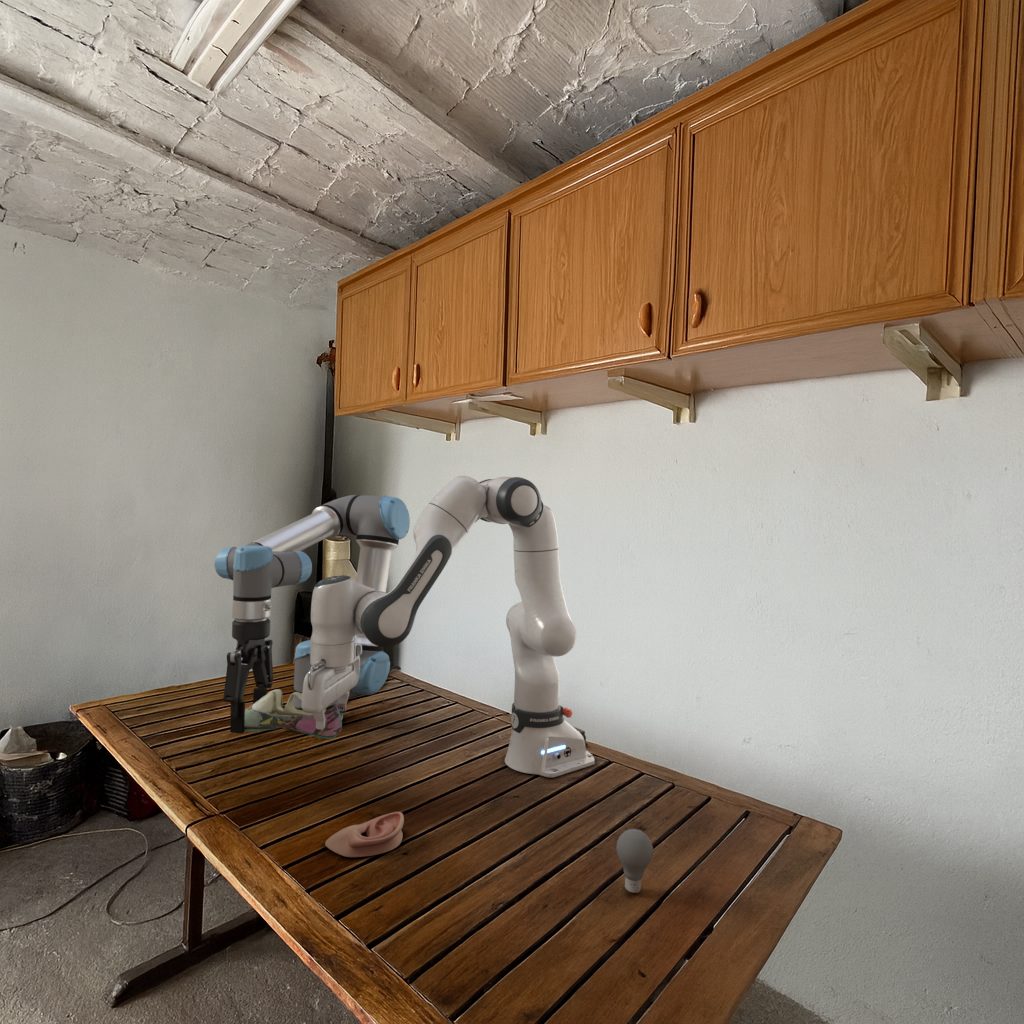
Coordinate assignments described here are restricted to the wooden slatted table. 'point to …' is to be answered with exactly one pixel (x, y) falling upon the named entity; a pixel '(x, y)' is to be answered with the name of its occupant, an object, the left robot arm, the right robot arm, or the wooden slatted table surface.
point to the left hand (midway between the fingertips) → (248, 724)
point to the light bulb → (634, 857)
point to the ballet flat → (289, 716)
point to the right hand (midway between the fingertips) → (331, 719)
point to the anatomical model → (368, 837)
